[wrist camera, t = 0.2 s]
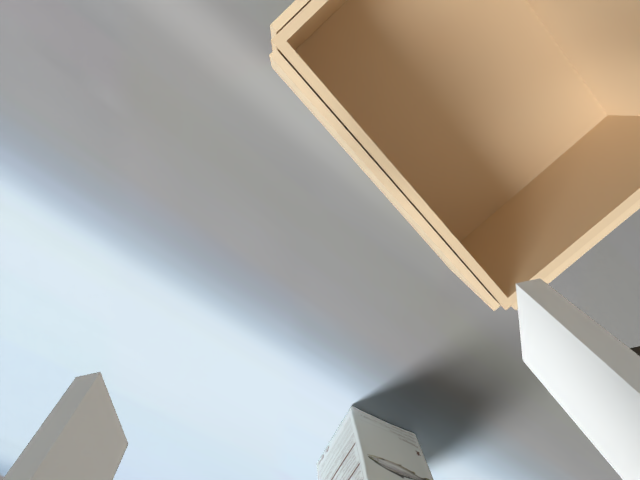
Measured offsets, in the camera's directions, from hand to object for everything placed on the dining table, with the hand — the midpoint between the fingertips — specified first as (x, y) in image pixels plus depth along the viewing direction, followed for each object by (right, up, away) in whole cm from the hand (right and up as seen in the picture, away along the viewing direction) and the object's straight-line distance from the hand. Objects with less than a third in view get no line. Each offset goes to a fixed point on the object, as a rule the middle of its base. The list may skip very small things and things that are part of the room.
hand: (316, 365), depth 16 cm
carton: (+11, +16, +25) cm, 32 cm away
